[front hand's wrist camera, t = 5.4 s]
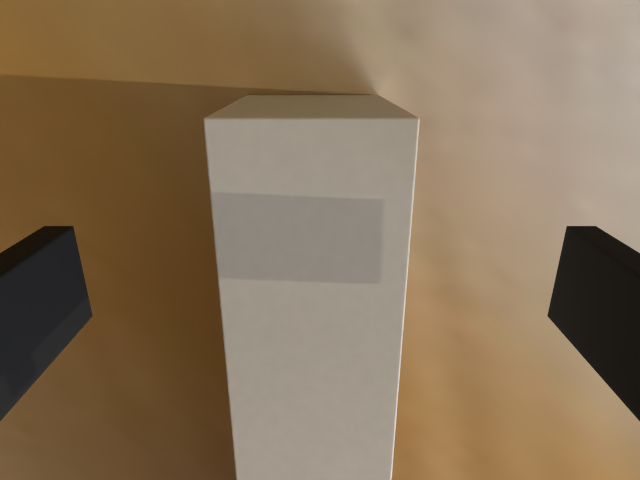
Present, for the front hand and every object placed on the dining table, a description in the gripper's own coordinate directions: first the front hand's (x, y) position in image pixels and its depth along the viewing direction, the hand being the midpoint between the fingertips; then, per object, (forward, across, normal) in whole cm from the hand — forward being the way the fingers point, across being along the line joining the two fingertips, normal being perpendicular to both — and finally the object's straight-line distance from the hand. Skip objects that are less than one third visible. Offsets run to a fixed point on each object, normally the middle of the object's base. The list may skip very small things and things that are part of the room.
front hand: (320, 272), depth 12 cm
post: (+10, 0, -37) cm, 38 cm away
